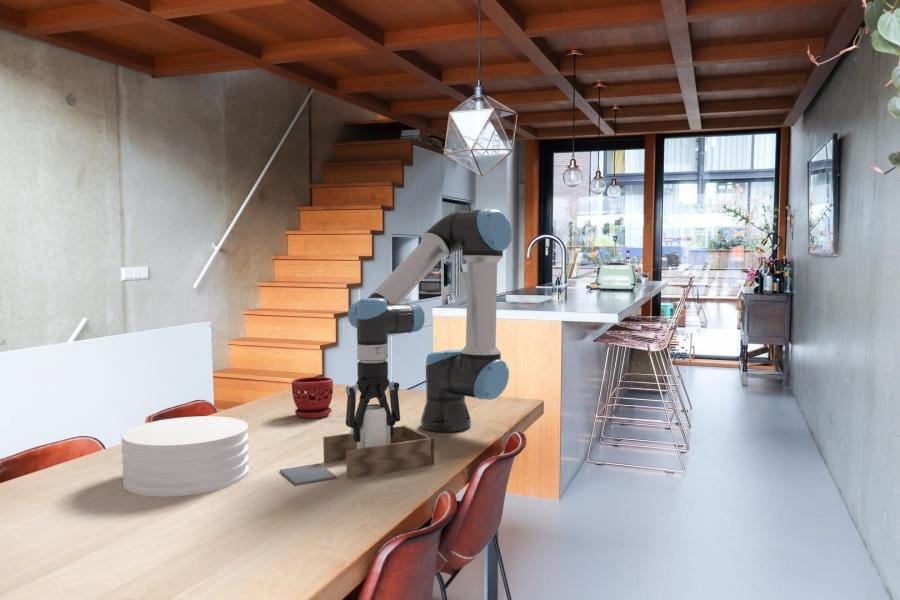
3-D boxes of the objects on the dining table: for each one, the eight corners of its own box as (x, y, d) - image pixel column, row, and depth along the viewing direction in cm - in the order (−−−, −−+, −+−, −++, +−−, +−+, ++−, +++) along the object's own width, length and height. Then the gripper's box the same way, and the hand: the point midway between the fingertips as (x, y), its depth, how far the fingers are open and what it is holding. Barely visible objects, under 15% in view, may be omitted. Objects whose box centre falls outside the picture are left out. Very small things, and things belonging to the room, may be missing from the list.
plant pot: (341, 413, 238) (341, 377, 237) (313, 421, 227) (313, 383, 226) (312, 409, 245) (311, 374, 244) (283, 416, 234) (283, 380, 233)
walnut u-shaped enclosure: (405, 449, 195) (404, 425, 194) (434, 463, 181) (434, 438, 180) (323, 462, 183) (323, 436, 183) (348, 479, 169) (347, 451, 169)
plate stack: (127, 505, 153) (125, 451, 152) (119, 470, 178) (117, 424, 177) (261, 484, 166) (259, 435, 165) (236, 454, 191) (235, 411, 190)
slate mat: (318, 465, 180) (318, 463, 180) (337, 478, 170) (337, 476, 170) (279, 471, 175) (279, 469, 175) (295, 485, 165) (295, 483, 165)
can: (361, 450, 184) (360, 404, 183) (386, 450, 185) (386, 403, 184) (360, 458, 178) (359, 409, 177) (386, 457, 178) (386, 409, 177)
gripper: (341, 366, 171) (343, 461, 173) (414, 359, 181) (415, 450, 183) (329, 361, 178) (331, 454, 179) (400, 355, 188) (401, 443, 189)
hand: (373, 452), depth 181 cm, fingers closed on can, 6 cm apart
